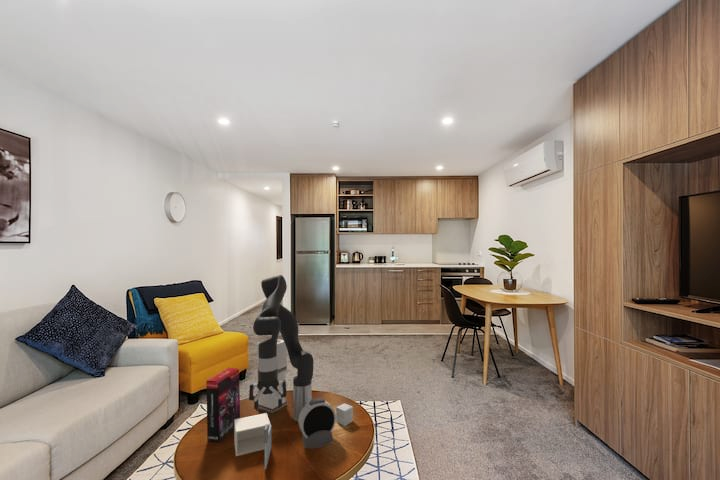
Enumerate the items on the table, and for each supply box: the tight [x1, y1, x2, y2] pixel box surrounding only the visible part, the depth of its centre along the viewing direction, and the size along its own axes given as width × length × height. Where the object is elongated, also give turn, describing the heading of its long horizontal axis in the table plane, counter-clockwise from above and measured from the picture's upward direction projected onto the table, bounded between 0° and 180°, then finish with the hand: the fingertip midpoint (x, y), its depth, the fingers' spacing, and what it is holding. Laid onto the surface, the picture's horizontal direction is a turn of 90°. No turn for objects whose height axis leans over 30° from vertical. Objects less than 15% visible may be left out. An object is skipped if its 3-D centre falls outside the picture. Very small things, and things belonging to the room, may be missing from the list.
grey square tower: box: [256, 339, 288, 414], centre depth 180 cm, size 11×11×35 cm
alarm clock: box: [297, 397, 337, 450], centre depth 147 cm, size 16×10×18 cm, turn 115°
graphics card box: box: [205, 367, 241, 443], centre depth 155 cm, size 17×7×27 cm, turn 168°
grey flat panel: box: [264, 424, 272, 470], centre depth 135 cm, size 14×1×15 cm, turn 7°
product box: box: [335, 403, 354, 427], centre depth 163 cm, size 6×6×7 cm
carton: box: [233, 412, 271, 457], centre depth 144 cm, size 14×11×10 cm
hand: (268, 408), depth 131 cm, fingers open, 8 cm apart
